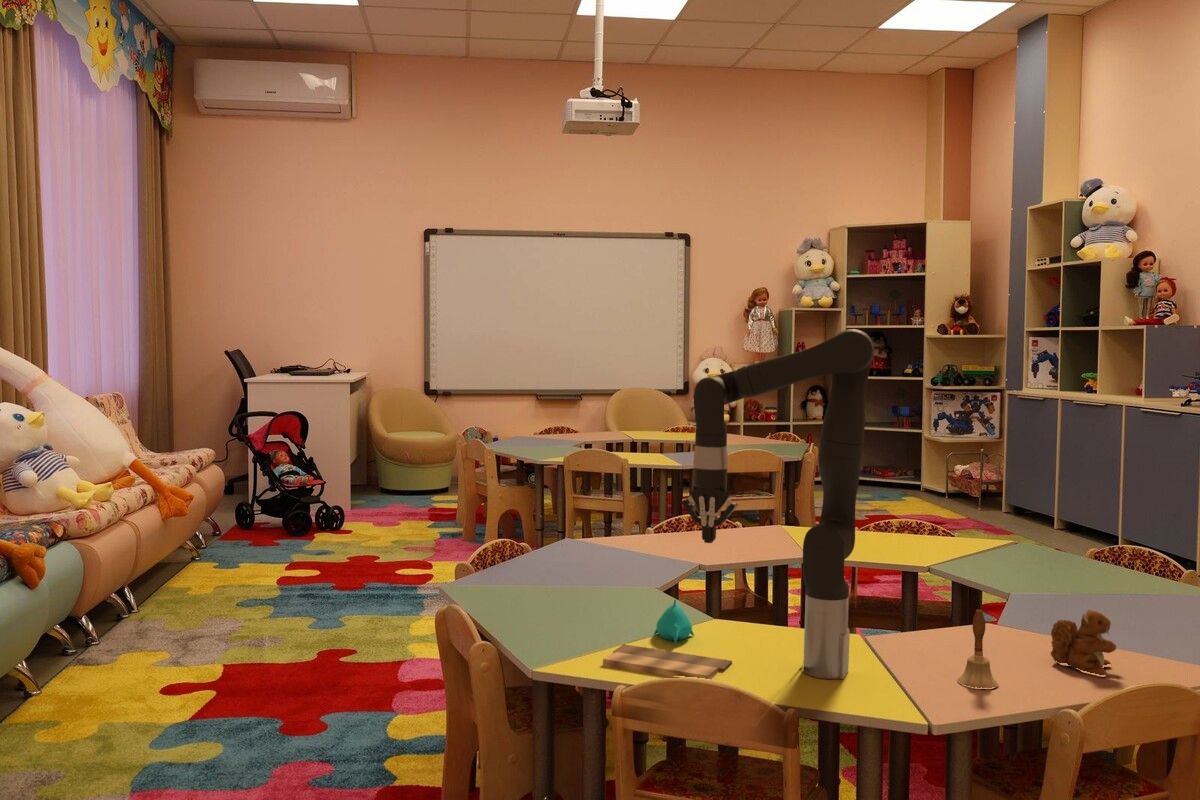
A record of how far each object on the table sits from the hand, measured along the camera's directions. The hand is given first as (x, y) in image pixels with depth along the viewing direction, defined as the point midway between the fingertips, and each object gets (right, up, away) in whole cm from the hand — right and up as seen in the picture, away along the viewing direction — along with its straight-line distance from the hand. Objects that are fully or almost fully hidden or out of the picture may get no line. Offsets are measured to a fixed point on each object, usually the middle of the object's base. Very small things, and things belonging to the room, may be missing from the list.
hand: (708, 542), depth 229 cm
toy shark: (-7, -26, +15) cm, 31 cm away
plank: (-11, -27, -8) cm, 30 cm away
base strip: (-8, -27, -1) cm, 28 cm away
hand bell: (+56, -29, -11) cm, 64 cm away
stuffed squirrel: (+84, -29, +2) cm, 89 cm away
